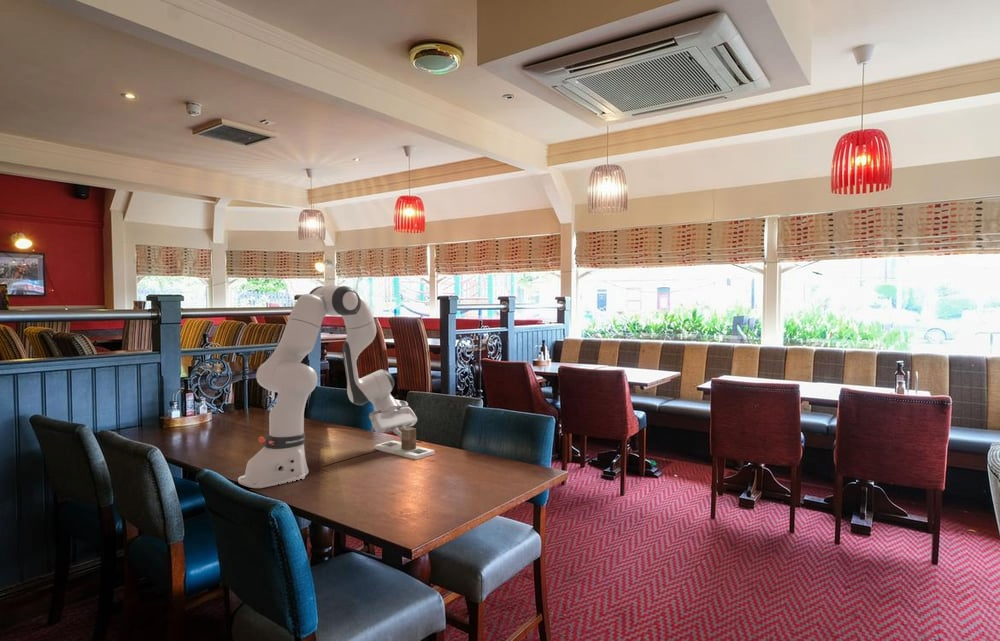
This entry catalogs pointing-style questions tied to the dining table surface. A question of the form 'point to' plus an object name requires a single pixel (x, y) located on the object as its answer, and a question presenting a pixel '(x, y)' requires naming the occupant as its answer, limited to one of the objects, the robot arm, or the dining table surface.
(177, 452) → the dining table surface
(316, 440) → the dining table surface
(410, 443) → the walnut block
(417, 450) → the board
